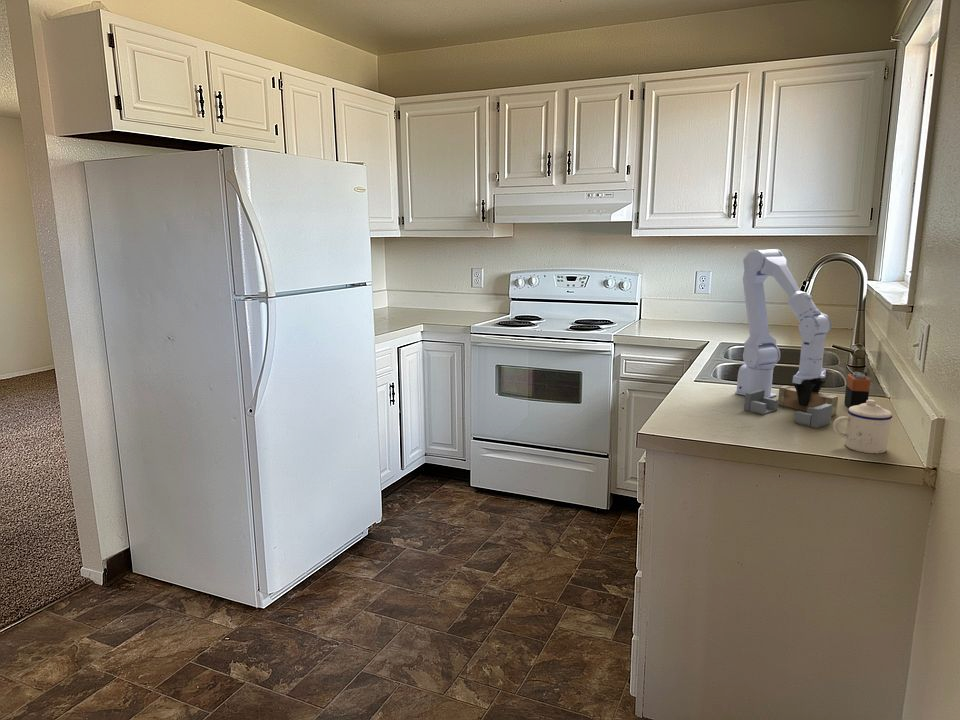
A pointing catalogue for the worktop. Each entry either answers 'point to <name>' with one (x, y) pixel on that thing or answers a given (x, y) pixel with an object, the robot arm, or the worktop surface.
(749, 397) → the post slots
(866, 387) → the battery
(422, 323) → the worktop surface
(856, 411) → the teacup with lid
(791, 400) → the rail
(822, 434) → the worktop surface
